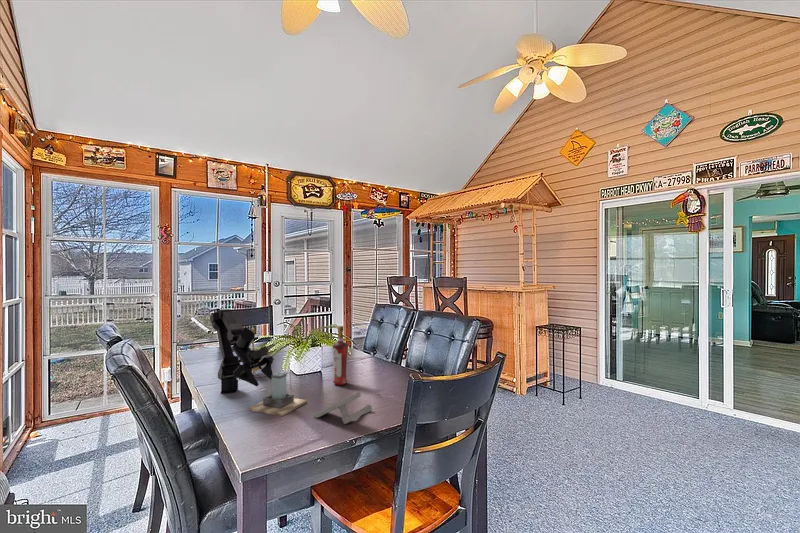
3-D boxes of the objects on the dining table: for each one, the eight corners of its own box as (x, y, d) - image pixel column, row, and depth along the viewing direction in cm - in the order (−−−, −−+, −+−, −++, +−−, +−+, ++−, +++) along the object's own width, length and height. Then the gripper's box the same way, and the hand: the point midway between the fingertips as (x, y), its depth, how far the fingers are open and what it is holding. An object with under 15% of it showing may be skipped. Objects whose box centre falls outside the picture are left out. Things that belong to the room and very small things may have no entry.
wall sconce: (264, 376, 200) (265, 328, 200) (245, 379, 195) (245, 329, 195) (258, 370, 212) (258, 324, 212) (240, 372, 207) (240, 326, 207)
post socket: (248, 410, 153) (248, 400, 153) (275, 397, 168) (275, 388, 168) (282, 416, 148) (282, 405, 148) (306, 402, 162) (306, 392, 162)
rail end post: (271, 404, 157) (271, 375, 157) (277, 401, 161) (278, 372, 161) (279, 406, 155) (279, 376, 155) (286, 402, 159) (286, 373, 159)
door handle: (320, 435, 144) (355, 419, 134) (313, 414, 147) (346, 397, 137) (352, 419, 159) (386, 403, 149) (344, 400, 161) (377, 383, 151)
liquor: (329, 384, 188) (329, 326, 188) (341, 380, 193) (341, 324, 193) (338, 387, 183) (339, 328, 183) (350, 384, 188) (351, 326, 188)
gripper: (239, 345, 154) (261, 376, 150) (270, 337, 171) (291, 364, 167) (223, 363, 156) (244, 394, 153) (256, 353, 174) (276, 380, 170)
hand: (265, 382), depth 160 cm, fingers open, 9 cm apart
